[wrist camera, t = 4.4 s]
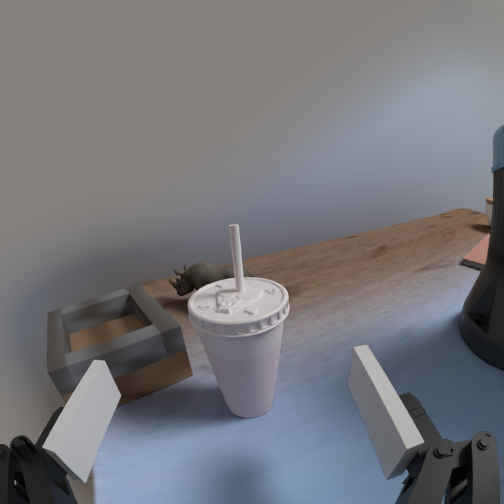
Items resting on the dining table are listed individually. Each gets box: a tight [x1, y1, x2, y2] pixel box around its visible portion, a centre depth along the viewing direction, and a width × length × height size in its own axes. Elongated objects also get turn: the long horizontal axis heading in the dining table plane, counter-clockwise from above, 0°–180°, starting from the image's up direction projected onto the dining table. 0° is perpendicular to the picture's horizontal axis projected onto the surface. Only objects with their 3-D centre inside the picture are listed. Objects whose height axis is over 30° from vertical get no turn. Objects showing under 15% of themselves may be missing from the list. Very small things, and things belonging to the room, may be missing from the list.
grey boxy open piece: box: [47, 284, 193, 406], centre depth 24 cm, size 12×12×6 cm
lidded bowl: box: [486, 198, 493, 226], centre depth 58 cm, size 13×13×11 cm
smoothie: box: [187, 224, 290, 418], centre depth 18 cm, size 6×6×14 cm
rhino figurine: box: [169, 262, 255, 296], centre depth 36 cm, size 4×14×6 cm, turn 67°
